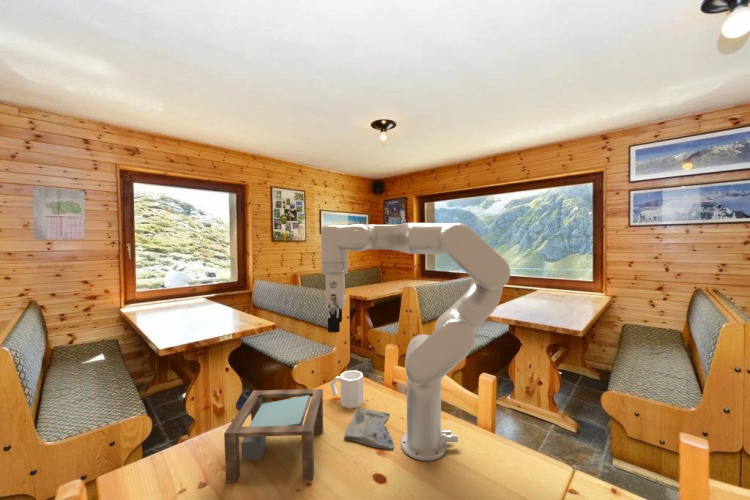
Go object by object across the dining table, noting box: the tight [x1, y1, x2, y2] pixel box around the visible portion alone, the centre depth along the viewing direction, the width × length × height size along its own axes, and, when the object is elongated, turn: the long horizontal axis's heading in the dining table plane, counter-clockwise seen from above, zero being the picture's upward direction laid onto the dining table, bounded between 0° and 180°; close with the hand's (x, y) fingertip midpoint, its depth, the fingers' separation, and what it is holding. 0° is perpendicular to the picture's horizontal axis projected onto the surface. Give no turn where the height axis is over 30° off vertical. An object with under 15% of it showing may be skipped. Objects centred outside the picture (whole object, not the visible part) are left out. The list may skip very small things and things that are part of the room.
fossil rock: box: [344, 407, 395, 451], centre depth 101 cm, size 18×15×2 cm
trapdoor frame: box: [223, 388, 324, 484], centre depth 90 cm, size 21×21×12 cm
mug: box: [329, 369, 364, 410], centre depth 117 cm, size 12×9×10 cm
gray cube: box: [240, 436, 267, 461], centre depth 90 cm, size 5×5×5 cm
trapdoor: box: [248, 395, 312, 427], centre depth 90 cm, size 14×14×1 cm
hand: (335, 326), depth 95 cm, fingers open, 9 cm apart
